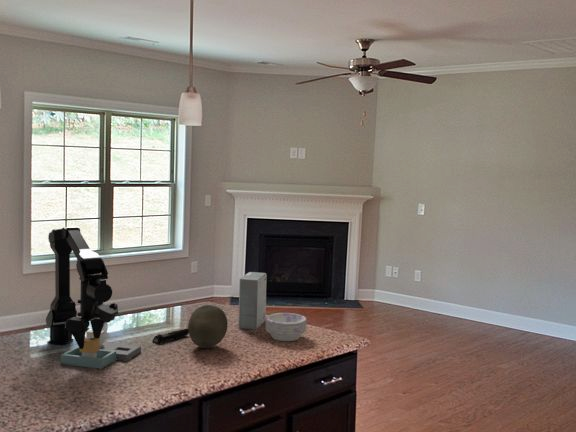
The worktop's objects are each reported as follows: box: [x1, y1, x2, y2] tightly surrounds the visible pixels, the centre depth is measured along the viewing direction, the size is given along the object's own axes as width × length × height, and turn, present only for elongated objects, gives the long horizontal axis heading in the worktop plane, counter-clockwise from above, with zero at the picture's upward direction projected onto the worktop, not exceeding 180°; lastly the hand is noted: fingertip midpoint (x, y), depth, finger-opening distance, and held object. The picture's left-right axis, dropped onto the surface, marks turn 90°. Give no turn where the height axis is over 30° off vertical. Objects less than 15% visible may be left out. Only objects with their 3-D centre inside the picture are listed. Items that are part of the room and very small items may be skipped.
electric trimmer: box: [151, 328, 189, 345], centre depth 226 cm, size 4×16×3 cm, turn 141°
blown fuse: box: [80, 336, 99, 358], centre depth 198 cm, size 5×3×7 cm, turn 78°
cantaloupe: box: [187, 304, 228, 349], centre depth 217 cm, size 14×14×15 cm
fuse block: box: [99, 341, 142, 362], centre depth 207 cm, size 18×10×2 cm, turn 77°
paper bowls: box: [265, 312, 307, 342], centre depth 233 cm, size 15×15×8 cm
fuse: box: [85, 328, 106, 348], centre depth 208 cm, size 5×3×7 cm, turn 77°
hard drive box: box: [237, 271, 267, 331], centre depth 250 cm, size 16×8×20 cm, turn 169°
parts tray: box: [60, 346, 117, 370], centre depth 198 cm, size 14×9×3 cm, turn 77°
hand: (89, 344), depth 197 cm, fingers open, 9 cm apart
